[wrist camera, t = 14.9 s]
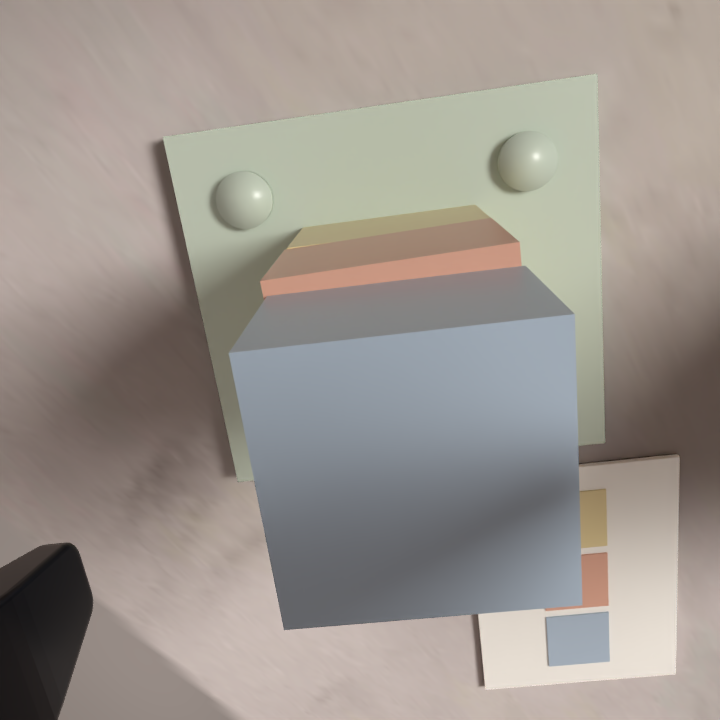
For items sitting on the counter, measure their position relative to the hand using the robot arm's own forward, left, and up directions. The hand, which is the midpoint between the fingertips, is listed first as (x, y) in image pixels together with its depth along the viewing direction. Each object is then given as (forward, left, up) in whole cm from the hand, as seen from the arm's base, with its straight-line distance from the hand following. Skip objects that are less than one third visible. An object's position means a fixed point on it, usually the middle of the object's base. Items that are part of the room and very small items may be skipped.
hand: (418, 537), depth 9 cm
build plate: (0, 0, -13) cm, 13 cm away
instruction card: (-5, +11, -13) cm, 18 cm away
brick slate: (0, 0, -5) cm, 5 cm away
